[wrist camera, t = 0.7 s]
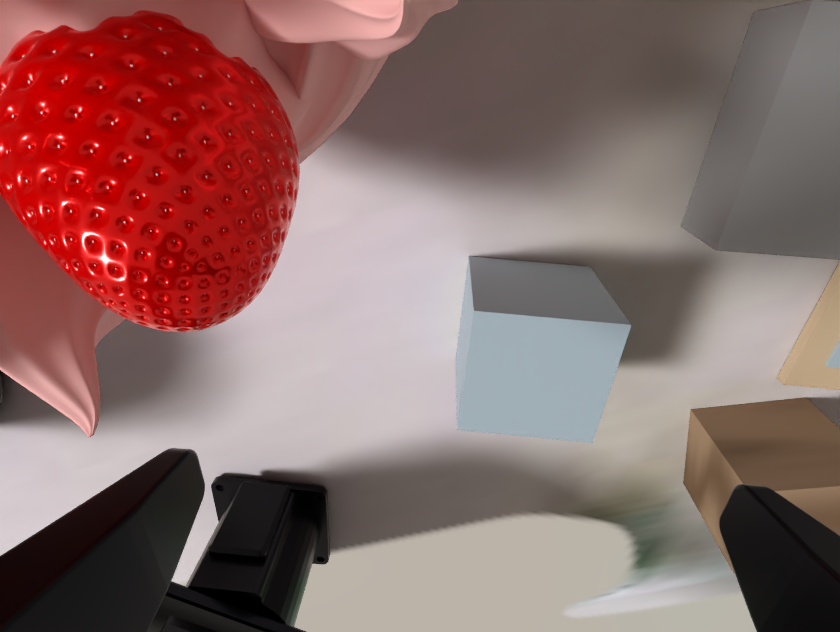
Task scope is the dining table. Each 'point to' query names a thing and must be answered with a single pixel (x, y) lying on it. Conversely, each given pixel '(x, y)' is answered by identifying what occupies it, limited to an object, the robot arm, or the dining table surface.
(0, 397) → the supplement container
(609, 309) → the slate cube
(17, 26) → the cake
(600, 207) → the dining table surface
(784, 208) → the base block
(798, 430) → the walnut cube
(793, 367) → the tan flat square frame
